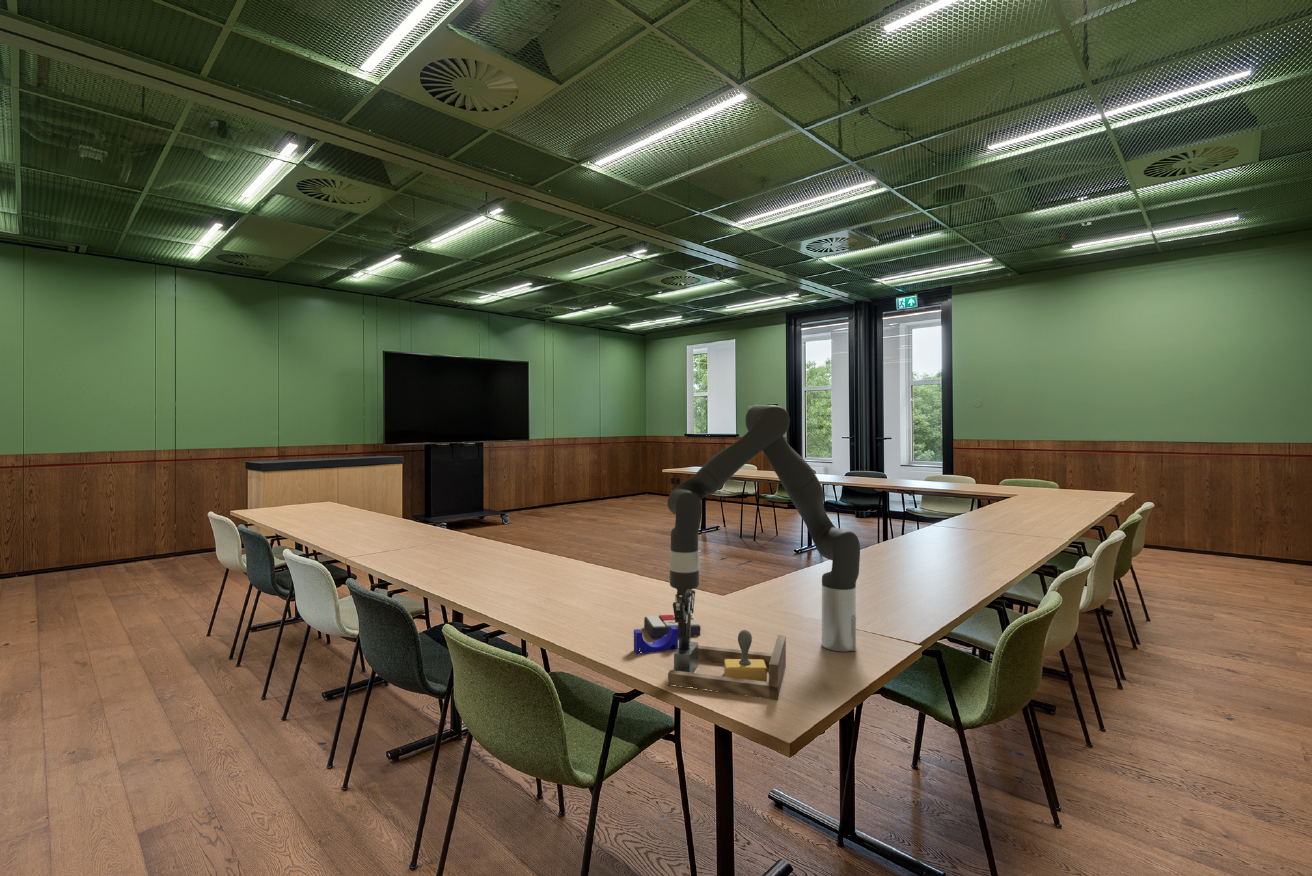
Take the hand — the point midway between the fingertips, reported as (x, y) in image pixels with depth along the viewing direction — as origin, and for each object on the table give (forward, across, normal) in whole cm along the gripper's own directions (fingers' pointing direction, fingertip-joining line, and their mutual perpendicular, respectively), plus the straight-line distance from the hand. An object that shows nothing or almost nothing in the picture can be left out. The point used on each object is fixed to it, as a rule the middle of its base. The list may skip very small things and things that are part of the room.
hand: (684, 634), depth 153 cm
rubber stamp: (+10, 0, -16) cm, 18 cm away
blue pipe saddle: (+10, +12, +12) cm, 19 cm away
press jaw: (+9, 0, 0) cm, 9 cm away
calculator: (+10, +27, +11) cm, 31 cm away
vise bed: (+9, 0, -12) cm, 15 cm away
